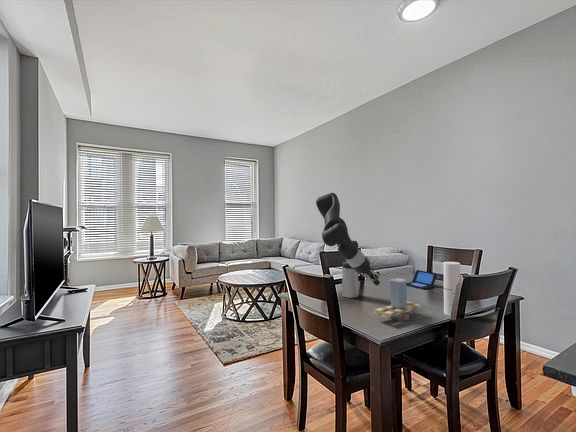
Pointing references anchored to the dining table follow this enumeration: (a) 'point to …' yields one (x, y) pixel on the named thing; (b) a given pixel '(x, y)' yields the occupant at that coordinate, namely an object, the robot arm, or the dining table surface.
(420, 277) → the handheld game console
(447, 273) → the cylindrical container
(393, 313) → the ginger root
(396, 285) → the blue rectangular block
